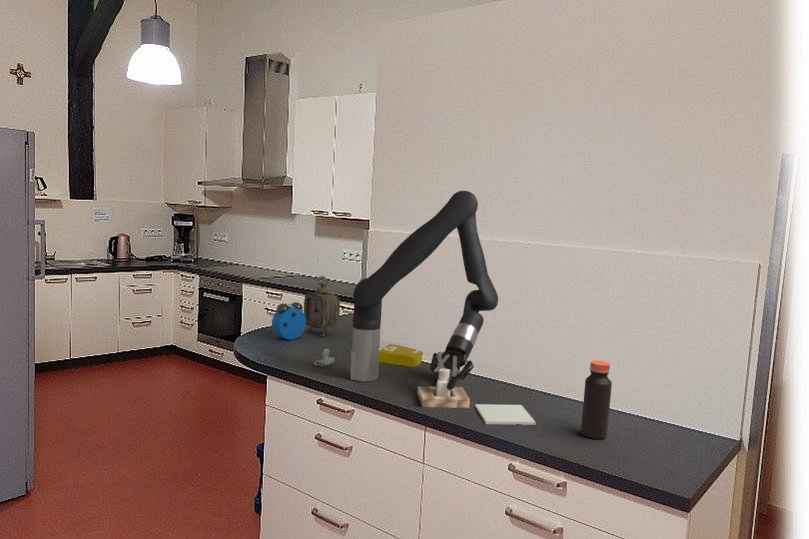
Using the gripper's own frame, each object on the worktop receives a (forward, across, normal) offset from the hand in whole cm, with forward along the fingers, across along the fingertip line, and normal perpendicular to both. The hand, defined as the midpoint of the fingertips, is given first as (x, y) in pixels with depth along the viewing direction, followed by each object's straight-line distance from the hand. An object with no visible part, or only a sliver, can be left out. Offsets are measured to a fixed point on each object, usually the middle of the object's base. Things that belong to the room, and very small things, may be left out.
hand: (440, 386), depth 192 cm
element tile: (-19, -36, +27) cm, 49 cm away
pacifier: (-1, -52, +8) cm, 53 cm away
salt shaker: (+2, 0, +5) cm, 5 cm away
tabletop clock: (-25, -84, +33) cm, 94 cm away
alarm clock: (-14, -87, +22) cm, 91 cm away
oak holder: (+2, 0, +5) cm, 5 cm away
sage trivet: (+1, +20, +5) cm, 21 cm away
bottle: (0, +45, +7) cm, 46 cm away
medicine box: (-11, -12, +18) cm, 24 cm away
